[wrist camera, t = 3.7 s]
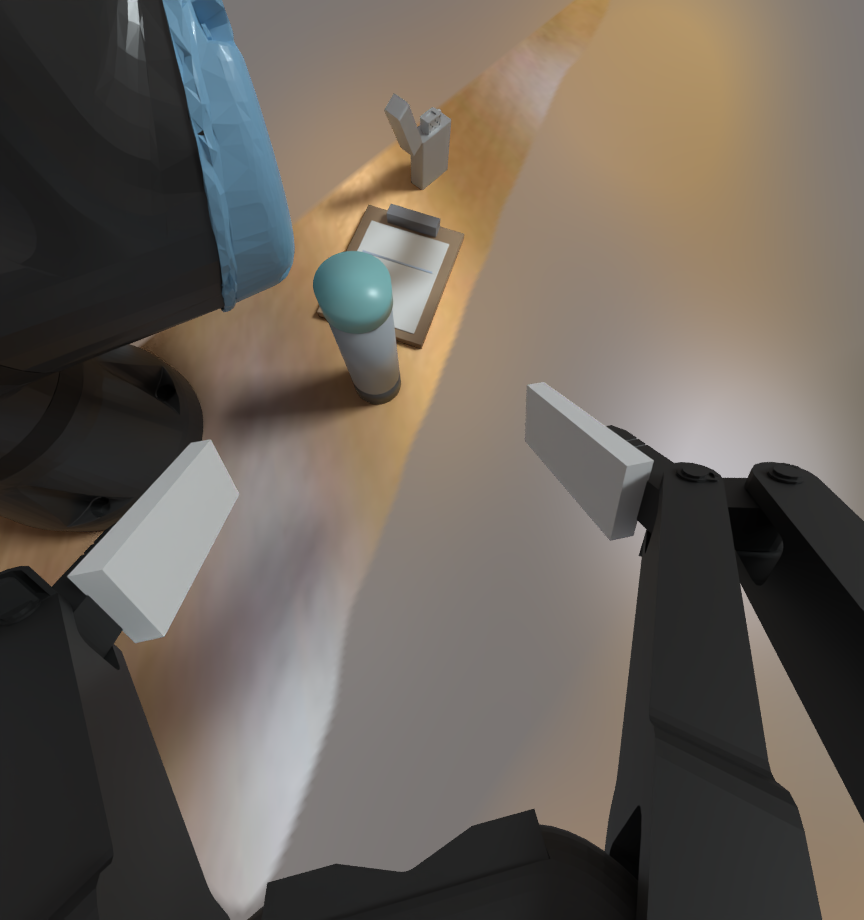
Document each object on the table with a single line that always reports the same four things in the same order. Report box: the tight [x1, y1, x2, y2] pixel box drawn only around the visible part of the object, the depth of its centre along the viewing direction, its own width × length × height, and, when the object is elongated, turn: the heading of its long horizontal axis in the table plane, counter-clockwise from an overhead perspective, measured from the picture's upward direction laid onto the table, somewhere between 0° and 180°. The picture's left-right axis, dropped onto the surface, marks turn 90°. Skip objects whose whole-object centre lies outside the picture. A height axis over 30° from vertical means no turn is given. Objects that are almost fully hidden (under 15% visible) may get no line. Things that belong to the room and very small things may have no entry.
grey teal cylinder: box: [313, 251, 401, 404], centre depth 24 cm, size 4×4×12 cm
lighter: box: [384, 94, 451, 190], centre depth 32 cm, size 7×2×8 cm, turn 138°
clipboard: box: [317, 204, 464, 348], centre depth 32 cm, size 10×13×2 cm
